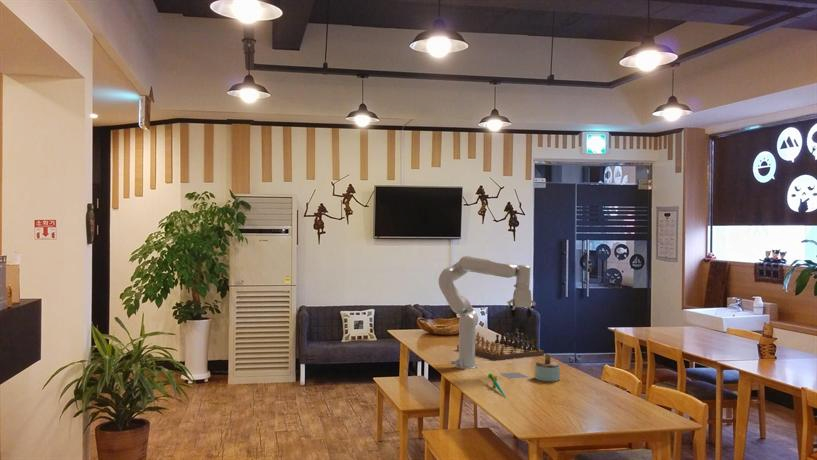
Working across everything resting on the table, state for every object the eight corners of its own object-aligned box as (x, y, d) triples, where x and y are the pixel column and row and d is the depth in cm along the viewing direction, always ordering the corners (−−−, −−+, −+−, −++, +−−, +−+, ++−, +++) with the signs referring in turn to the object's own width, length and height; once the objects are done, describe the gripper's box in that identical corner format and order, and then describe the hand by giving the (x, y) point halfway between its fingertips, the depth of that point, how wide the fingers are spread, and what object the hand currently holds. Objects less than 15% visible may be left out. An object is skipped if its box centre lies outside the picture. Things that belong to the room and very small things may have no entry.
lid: (543, 368, 359) (543, 356, 359) (531, 363, 371) (532, 352, 371) (563, 367, 363) (564, 355, 363) (552, 362, 375) (552, 351, 375)
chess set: (496, 361, 419) (497, 337, 419) (457, 350, 452) (457, 328, 452) (543, 356, 441) (544, 333, 441) (502, 346, 474) (503, 325, 474)
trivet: (508, 379, 367) (508, 378, 367) (499, 374, 378) (499, 373, 378) (528, 378, 371) (528, 377, 371) (518, 373, 382) (518, 372, 382)
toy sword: (492, 369, 355) (508, 391, 326) (492, 380, 356) (507, 403, 327) (487, 369, 355) (503, 391, 325) (487, 380, 356) (502, 403, 326)
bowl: (542, 383, 359) (542, 368, 359) (530, 377, 372) (531, 363, 371) (564, 382, 363) (564, 367, 363) (551, 376, 375) (552, 362, 375)
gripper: (511, 287, 381) (509, 317, 381) (539, 288, 386) (537, 318, 386) (505, 285, 388) (504, 315, 388) (533, 286, 393) (531, 316, 393)
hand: (520, 316), depth 387 cm, fingers open, 9 cm apart
